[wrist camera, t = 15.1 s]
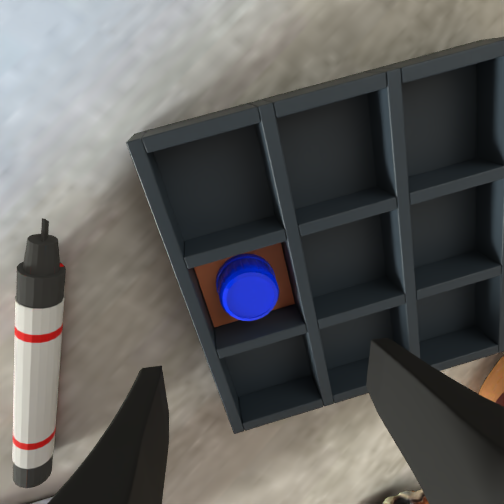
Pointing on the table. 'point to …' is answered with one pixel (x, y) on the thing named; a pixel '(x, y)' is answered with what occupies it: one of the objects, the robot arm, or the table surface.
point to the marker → (37, 358)
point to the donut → (494, 384)
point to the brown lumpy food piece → (407, 498)
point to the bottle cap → (247, 287)
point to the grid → (340, 225)
